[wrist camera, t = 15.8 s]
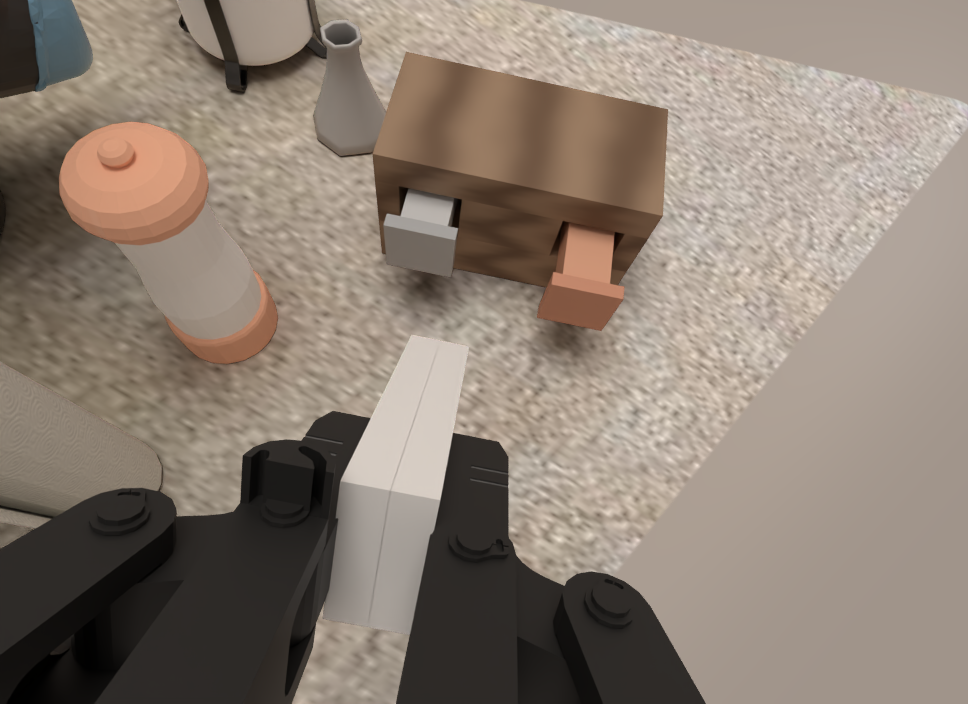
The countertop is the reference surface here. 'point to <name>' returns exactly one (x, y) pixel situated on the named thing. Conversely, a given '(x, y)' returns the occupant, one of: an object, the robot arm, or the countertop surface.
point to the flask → (346, 94)
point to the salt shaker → (169, 236)
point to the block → (520, 164)
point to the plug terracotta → (582, 279)
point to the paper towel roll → (60, 453)
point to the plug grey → (422, 234)
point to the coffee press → (251, 32)
